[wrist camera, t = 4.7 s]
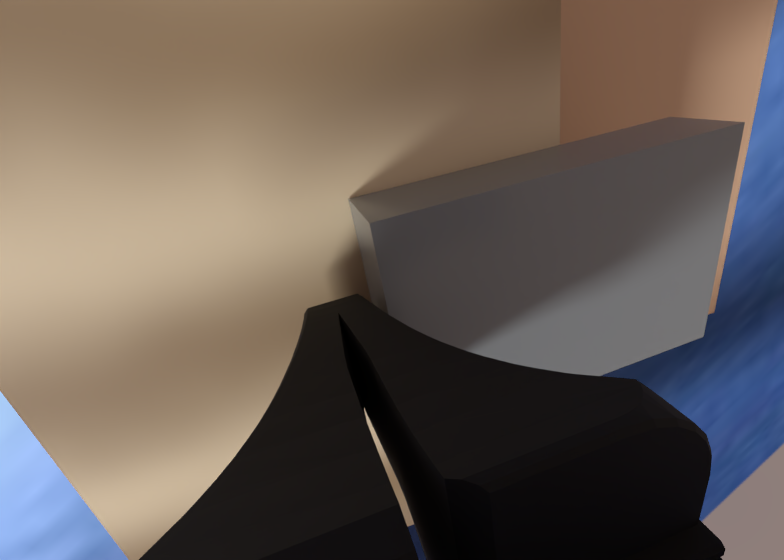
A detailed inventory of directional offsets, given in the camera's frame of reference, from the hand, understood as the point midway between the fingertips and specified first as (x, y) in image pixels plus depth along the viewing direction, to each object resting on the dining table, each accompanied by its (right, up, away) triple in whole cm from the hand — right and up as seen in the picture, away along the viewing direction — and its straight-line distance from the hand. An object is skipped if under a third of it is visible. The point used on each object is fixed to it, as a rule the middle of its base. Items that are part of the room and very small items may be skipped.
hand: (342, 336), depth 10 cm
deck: (-2, +2, +4) cm, 5 cm away
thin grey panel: (+5, +2, +2) cm, 6 cm away
